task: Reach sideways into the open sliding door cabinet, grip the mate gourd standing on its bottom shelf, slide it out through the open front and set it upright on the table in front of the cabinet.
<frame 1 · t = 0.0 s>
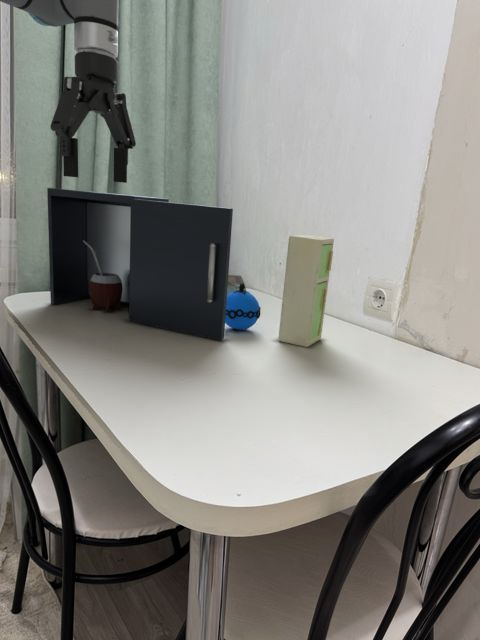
hand: (97, 179, 97), 28 cm above the table, tool pointing down, fingers open, 13 cm apart
beverage carton: (228, 303, 135), on the table
sliding door cabinet: (108, 308, 117), on the table
mate gourd: (103, 310, 116), on the table
ornament: (238, 330, 108), on the table
toy refrigerator: (301, 341, 104), on the table
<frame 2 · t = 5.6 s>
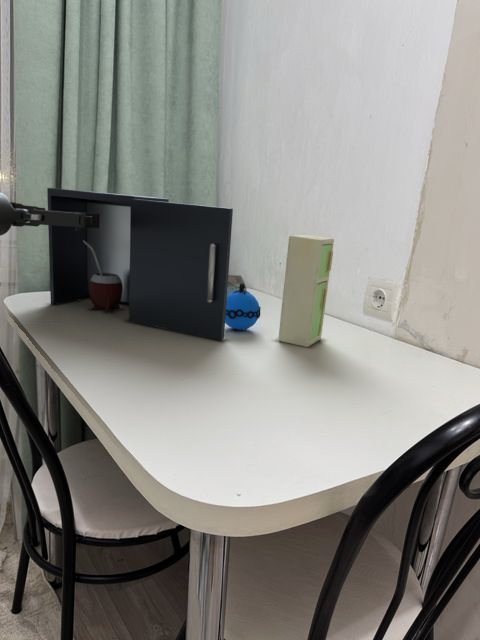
hand: (70, 217, 102), 20 cm above the table, tool horizontal, fingers open, 13 cm apart
nothing on the table moved.
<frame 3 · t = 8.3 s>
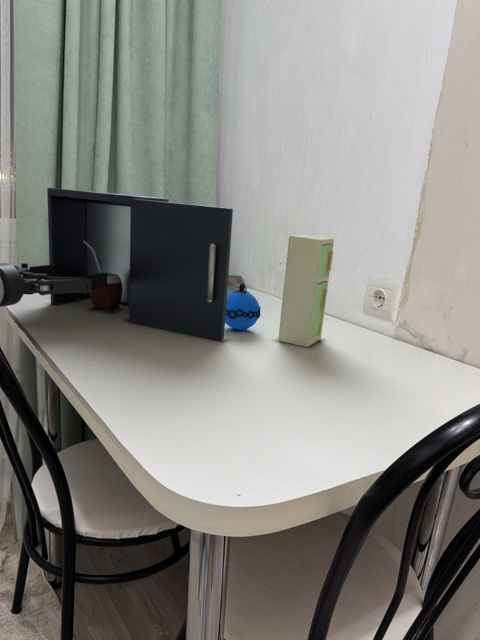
hand: (80, 275, 106), 9 cm above the table, tool horizontal, fingers open, 13 cm apart
nothing on the table moved.
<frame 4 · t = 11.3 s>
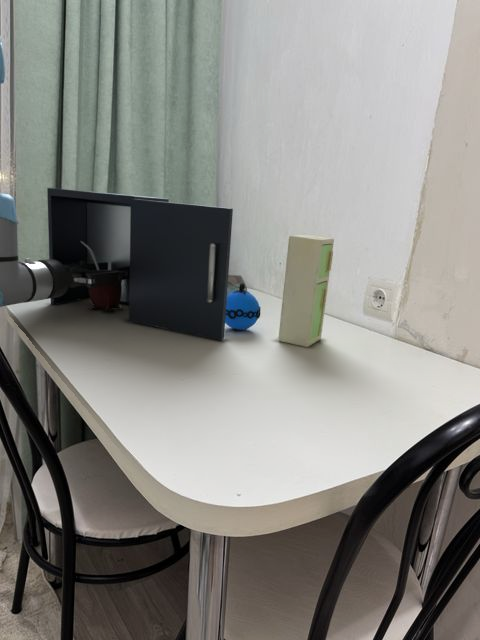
hand: (118, 270, 117), 9 cm above the table, tool horizontal, fingers closed on mate gourd, 6 cm apart
mate gourd: (103, 309, 116), on the table, touching gripper
everything else where it was.
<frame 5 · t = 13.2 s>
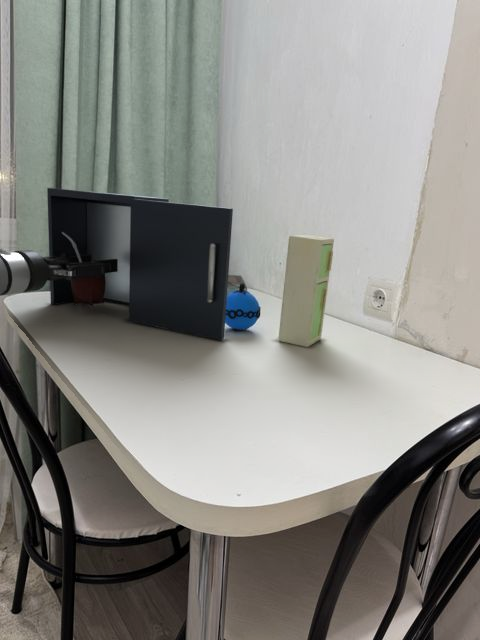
hand: (102, 263, 112), 10 cm above the table, tool horizontal, fingers closed on mate gourd, 6 cm apart
mate gourd: (87, 304, 111), point 2 cm above the table, touching gripper
everything else where it was.
when the fingers open (9 cm above the table, at t = 15.6 s): mate gourd stays where it is, on the table.
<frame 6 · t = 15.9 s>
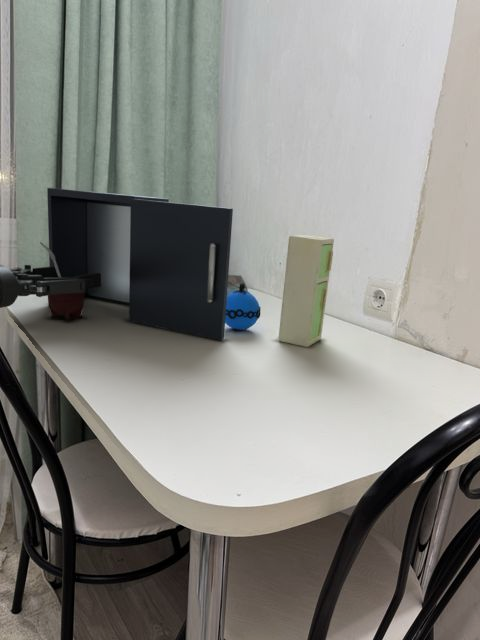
hand: (78, 276, 106), 8 cm above the table, tool horizontal, fingers open, 10 cm apart
mate gourd: (64, 318, 105), on the table
everything else where it was.
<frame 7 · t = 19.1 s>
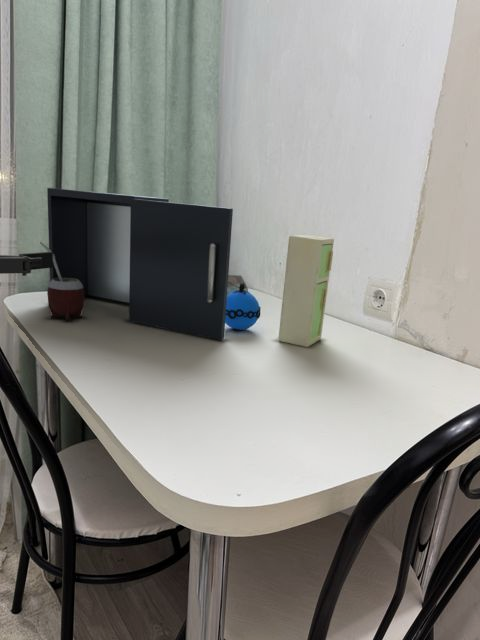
hand: (23, 254, 93), 14 cm above the table, tool horizontal, fingers open, 13 cm apart
nothing on the table moved.
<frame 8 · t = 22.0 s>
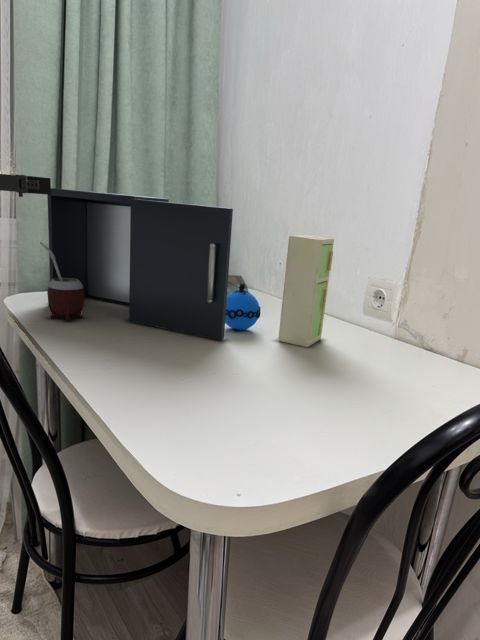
hand: (20, 183, 89), 26 cm above the table, tool horizontal, fingers open, 13 cm apart
nothing on the table moved.
at the end: mate gourd inside the target area (0.8 cm from its centre), on the table; mate gourd tilted 0°; the gripper is holding nothing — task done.
